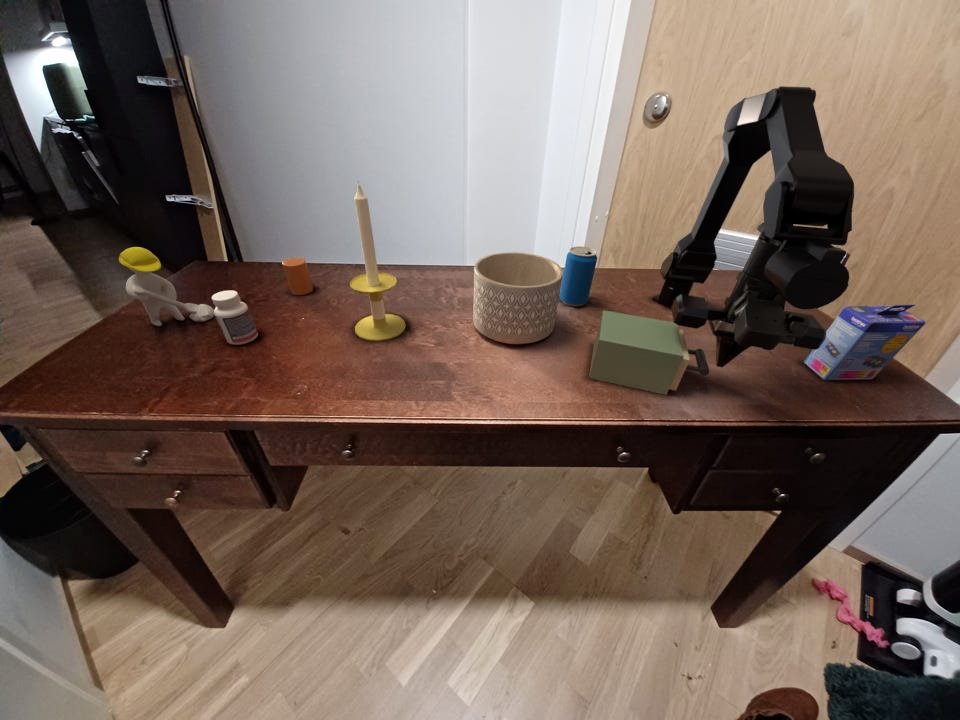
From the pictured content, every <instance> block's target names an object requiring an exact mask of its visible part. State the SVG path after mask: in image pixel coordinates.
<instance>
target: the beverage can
mask: <svg viewBox="0 0 960 720" xmlns="http://www.w3.org/2000/svg"><path fill="white" fill-rule="evenodd" d="M597 262H598V255H597V250H595V249H594V248H591V247H588V246H573V247H571V248H569V252H568V253H567V254H566V258H565V263H564V269H563V277H562V283H561V288H560V294H559V300H561V302H562V303H563V304H564V305H567V306H569V307H581V306H583V305H585V304H587V303H588V301H589V297H590V294H591V293H590V292H591V290H592V289H591V288H592V284H593V280H594V277H595V271H596V266H597Z"/></svg>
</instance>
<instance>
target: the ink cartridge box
mask: <svg viewBox="0 0 960 720" xmlns="http://www.w3.org/2000/svg"><path fill="white" fill-rule="evenodd" d="M915 306H916V304H893V305H876V306H868V305H857V306H856V305H853V306H852V305H851V306H844V307H843V308H842V310H841V311H840V313H838V315H837V317H835V319H834V321H833V322H832V323H831V325H830V326H829V327H828V328H827V330H825V332H826V339H825V340H824V342H823V343H822V345H821V346H820V347H819V349H817V350H813V349H811V352H810V353H809V354H808V356H807V357H806V358H805V359H804V361H803V364H805V365H806V366H807V367H808V368H809V369H810V370H812V372H814V373H815V374H816V375H817V376H819V377H820V378H821V379H822V380H823V381H858V380H859V381H863V380H865V381H867V380H869V381H870V380H873V379H874V378H876V376H877V375H878V374H879V373H880V372H881V371H882V370H883V369H884V368H885V367H886V366H887V365H888V364H889V363H890V362H891V360H893V359H894V358H895V357H896V355H897V354H899V352H900V351H901V350H902V349H903V348H904V347H905V346H906V345H907V344H908V342H910V340H912V339H913V338H914V336H915V335H917V333H918V332H919V331H920V330H921V329H922V328H923V327H924V325H925V324H927V321H925V320H924V319H922V318H920V317H918V316H917V315H915V314H913V313H911V312H909V311H907V310H909V309H911V308H913V307H915Z"/></svg>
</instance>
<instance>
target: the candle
mask: <svg viewBox="0 0 960 720" xmlns="http://www.w3.org/2000/svg"><path fill="white" fill-rule="evenodd" d="M356 186H357V187H356V193H355V195H354V197H353V201H354V208H355V213H356V214H355V215H356V219H357V225H358V231H359V237H360V243H361V249H362V255H363V256H362V257H363V262H364V267H365V273H363V274H360V275H358V276H355V277H353V278H352V279H351V280H350V281H349V286H350V289H352V290H353V291H354V292H356V293H359V294H367V295H368V298H369V303H370V310H371V311H370V312H371V315H369V316H366V317H364V318H362V319H361V320H359V321H358V322H357V323H356V324H355V326H354V333H355V335H356V336H358V337H359V338H360V339H363V340H366V341H371V342H381V341H388V340H391V339H394V338H397V337H399V336H400V335H401V334H402V333H404V331H405V330H406V327H407V325H406V322H405V320H404V319H403V318H402V317H400V316H399V315H395V314H391V313H386V311H385V304H384V297H383V293H385V292H388V291H390V290H392V289H393V288H395V287H396V286H397V284H398V280H397V277H395V276H394V275H392V274H390V273H386V272H379V269H378V262H377V256H376V254H377V253H376V248H375V247H376V246H375V241H374V240H375V239H374V234H373V233H374V232H373V228H372V227H373V226H372V220H371V213H370V212H371V211H370V207H369V206H370V205H369V200H368V197H367V196H366V195H365V193H364V191H363V190H362V187H361V184H360V182H359V181H357V185H356Z"/></svg>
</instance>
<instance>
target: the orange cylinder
mask: <svg viewBox="0 0 960 720" xmlns="http://www.w3.org/2000/svg"><path fill="white" fill-rule="evenodd" d="M282 268H283V271H284V274H285V277H286V281H287V284H288V287H289V291H290V293H291V295H295V296H303V295H309V294H310V293H312V292H313V291H314V286H313V283H312V280H311V279H312V278H311V275H310V272H309V268H308V264H307V260H306V259H305V258H302V257H293V258H288V259H285V260H284V261H282Z"/></svg>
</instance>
